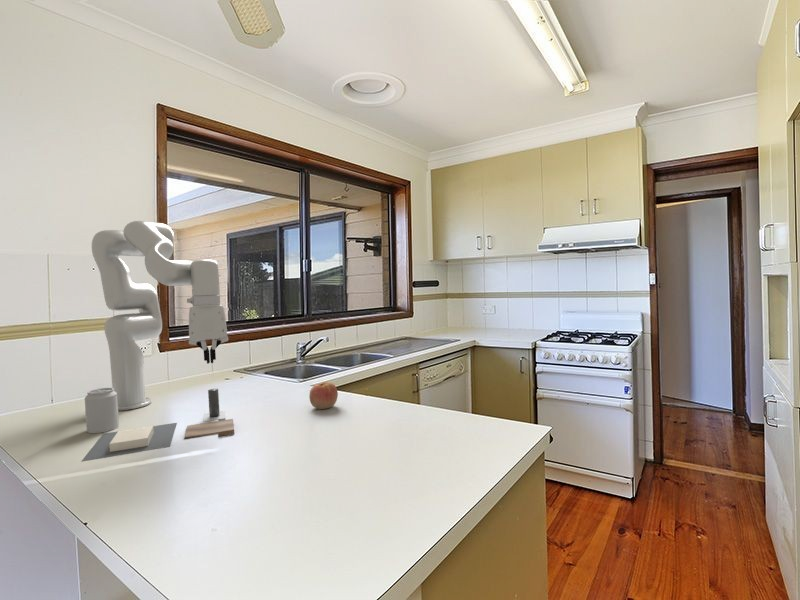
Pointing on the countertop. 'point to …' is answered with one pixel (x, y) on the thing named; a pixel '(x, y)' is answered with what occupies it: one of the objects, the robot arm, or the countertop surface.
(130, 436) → the tile
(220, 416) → the grey post stand
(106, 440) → the mat
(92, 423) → the can
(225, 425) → the plate
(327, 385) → the apple
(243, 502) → the countertop surface
